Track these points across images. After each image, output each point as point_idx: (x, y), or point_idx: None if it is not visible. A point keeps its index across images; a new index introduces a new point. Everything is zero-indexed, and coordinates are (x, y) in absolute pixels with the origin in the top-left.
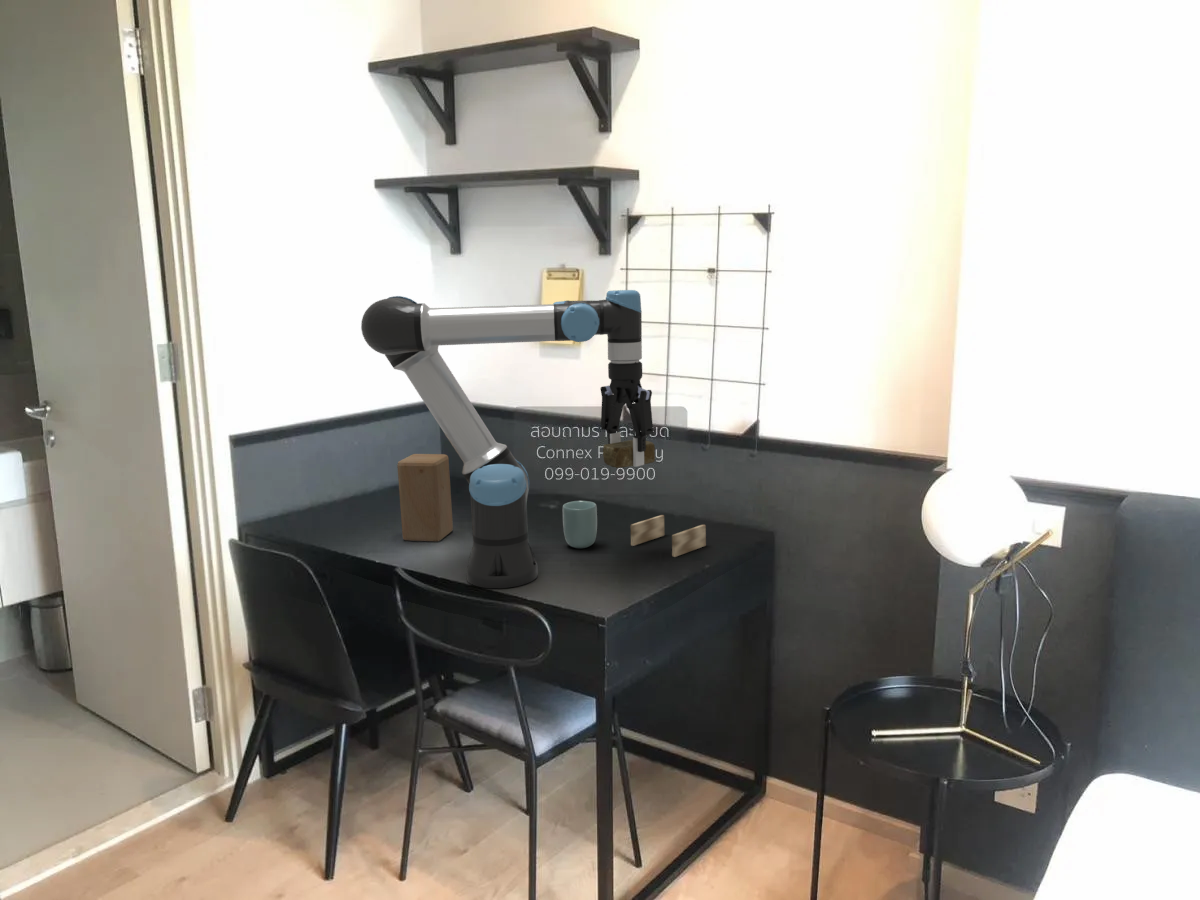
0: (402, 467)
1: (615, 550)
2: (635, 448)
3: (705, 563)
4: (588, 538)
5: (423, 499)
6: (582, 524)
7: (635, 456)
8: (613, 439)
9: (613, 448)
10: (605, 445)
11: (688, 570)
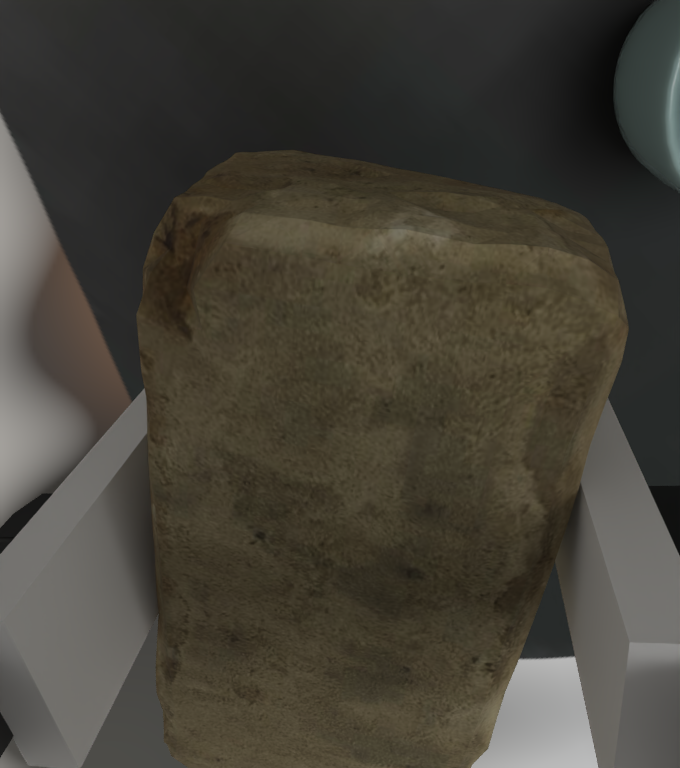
0: None
1: (483, 164)
2: (61, 490)
3: (102, 314)
4: (617, 64)
5: None
6: (657, 16)
7: (120, 424)
8: (597, 573)
9: (229, 231)
10: (534, 274)
11: (67, 210)
